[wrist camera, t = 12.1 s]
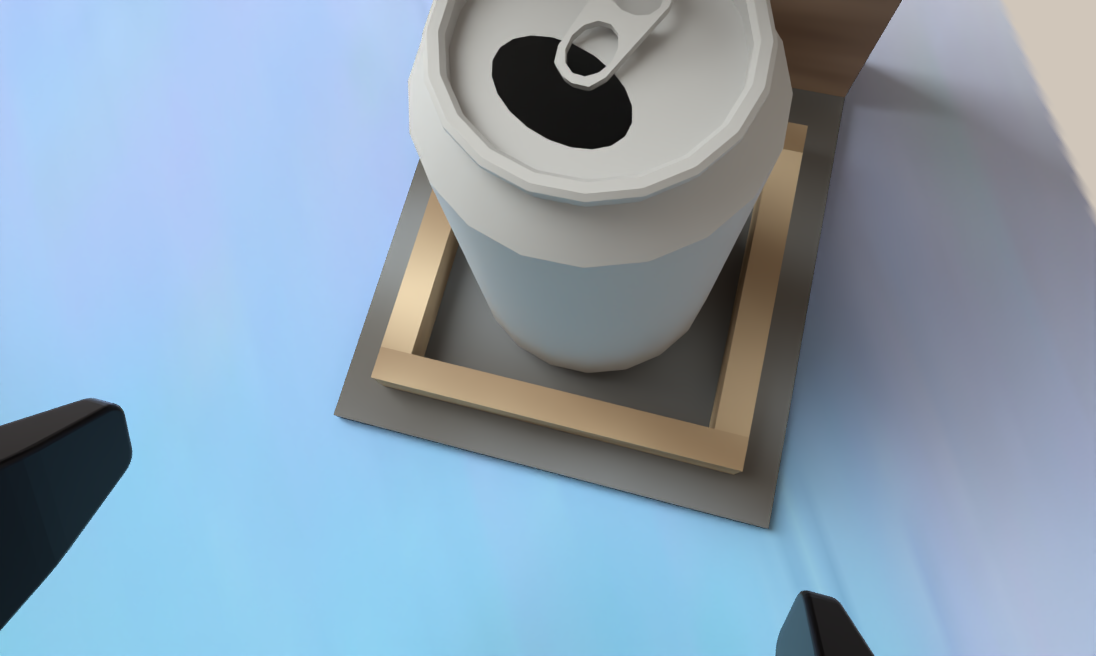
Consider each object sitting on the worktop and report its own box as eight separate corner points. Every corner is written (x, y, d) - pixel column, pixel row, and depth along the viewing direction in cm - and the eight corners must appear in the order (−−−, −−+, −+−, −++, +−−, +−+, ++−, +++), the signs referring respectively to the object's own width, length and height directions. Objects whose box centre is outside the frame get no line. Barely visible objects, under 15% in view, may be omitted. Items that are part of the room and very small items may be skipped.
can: (438, 283, 24) (293, 59, 12) (580, 128, 25) (570, -207, 14) (610, 426, 22) (629, 324, 11) (754, 253, 24) (909, -6, 12)
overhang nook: (765, 528, 22) (1561, 553, 4) (337, 416, 23) (-478, 75, 6) (849, 56, 26) (1422, -991, 8) (480, -10, 28) (272, -990, 10)
